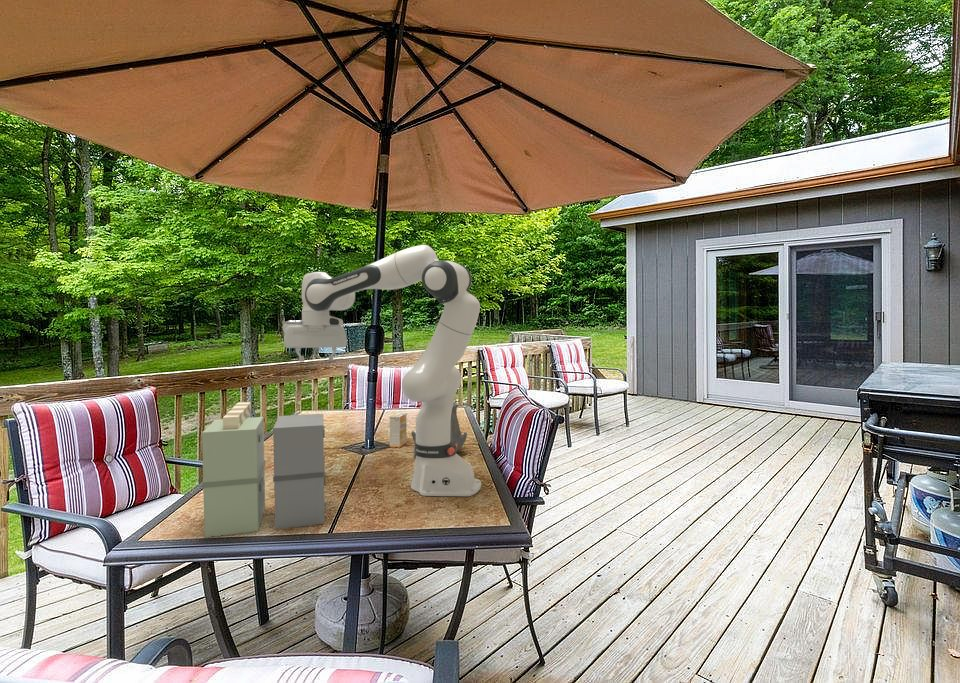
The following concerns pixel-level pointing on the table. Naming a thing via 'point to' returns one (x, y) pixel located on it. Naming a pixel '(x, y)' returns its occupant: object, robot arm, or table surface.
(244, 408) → the wooden bar
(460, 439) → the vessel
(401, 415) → the supplement box
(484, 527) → the table surface
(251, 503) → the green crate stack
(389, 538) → the table surface
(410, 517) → the table surface
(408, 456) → the table surface
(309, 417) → the grey crate stack
